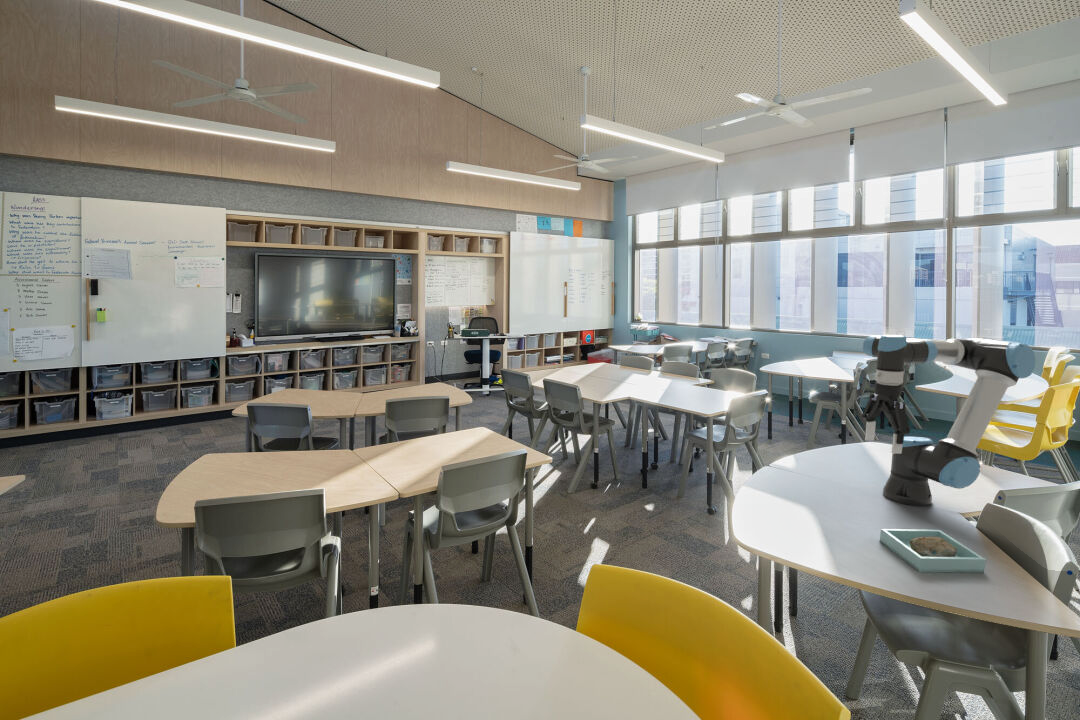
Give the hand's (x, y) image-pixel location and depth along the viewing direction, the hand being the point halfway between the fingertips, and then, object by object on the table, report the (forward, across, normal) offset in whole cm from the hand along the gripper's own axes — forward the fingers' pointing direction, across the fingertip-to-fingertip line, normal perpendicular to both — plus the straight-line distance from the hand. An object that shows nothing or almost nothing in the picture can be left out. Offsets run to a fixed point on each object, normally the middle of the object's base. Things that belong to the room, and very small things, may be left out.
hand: (882, 446), depth 181 cm
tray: (+26, +24, +1) cm, 35 cm away
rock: (+25, +24, +1) cm, 35 cm away
